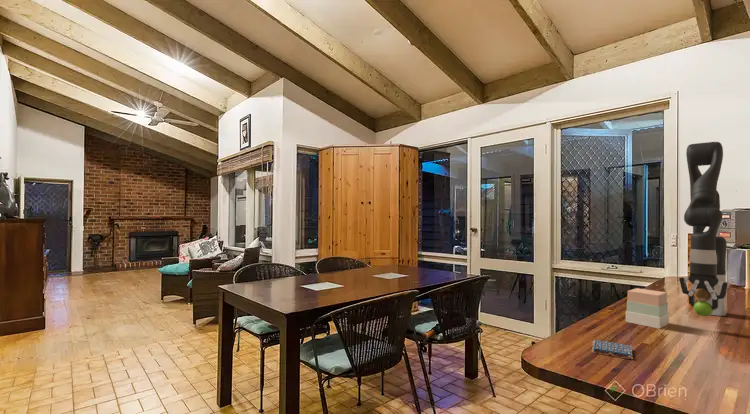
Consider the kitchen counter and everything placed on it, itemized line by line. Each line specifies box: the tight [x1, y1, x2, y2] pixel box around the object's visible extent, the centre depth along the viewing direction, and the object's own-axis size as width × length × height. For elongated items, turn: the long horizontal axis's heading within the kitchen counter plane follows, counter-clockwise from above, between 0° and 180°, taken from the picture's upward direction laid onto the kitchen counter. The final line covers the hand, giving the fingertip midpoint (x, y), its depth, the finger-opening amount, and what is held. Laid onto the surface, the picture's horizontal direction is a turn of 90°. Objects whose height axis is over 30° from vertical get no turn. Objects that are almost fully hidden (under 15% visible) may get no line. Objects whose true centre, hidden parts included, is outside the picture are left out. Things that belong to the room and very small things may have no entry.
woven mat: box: [591, 338, 634, 360], centre depth 114 cm, size 10×11×2 cm
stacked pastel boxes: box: [625, 287, 670, 329], centre depth 147 cm, size 11×11×12 cm
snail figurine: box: [693, 288, 713, 317], centre depth 138 cm, size 5×6×12 cm
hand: (703, 307), depth 139 cm, fingers closed on snail figurine, 5 cm apart
